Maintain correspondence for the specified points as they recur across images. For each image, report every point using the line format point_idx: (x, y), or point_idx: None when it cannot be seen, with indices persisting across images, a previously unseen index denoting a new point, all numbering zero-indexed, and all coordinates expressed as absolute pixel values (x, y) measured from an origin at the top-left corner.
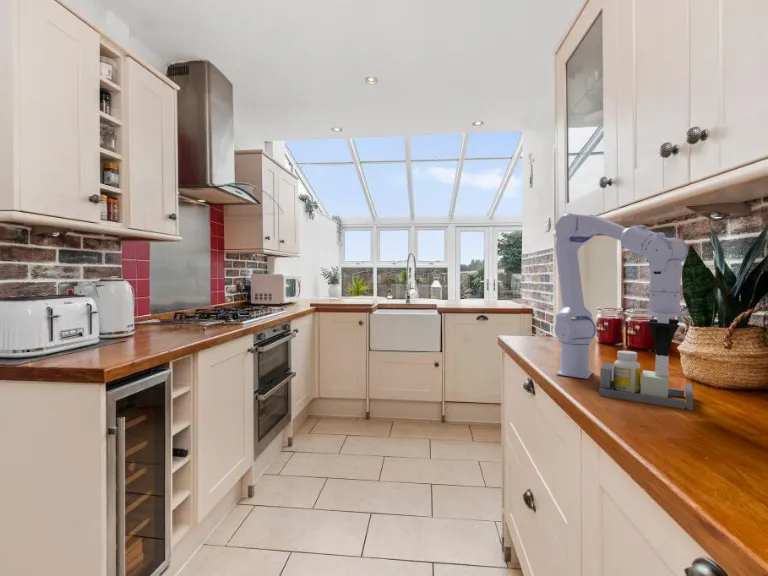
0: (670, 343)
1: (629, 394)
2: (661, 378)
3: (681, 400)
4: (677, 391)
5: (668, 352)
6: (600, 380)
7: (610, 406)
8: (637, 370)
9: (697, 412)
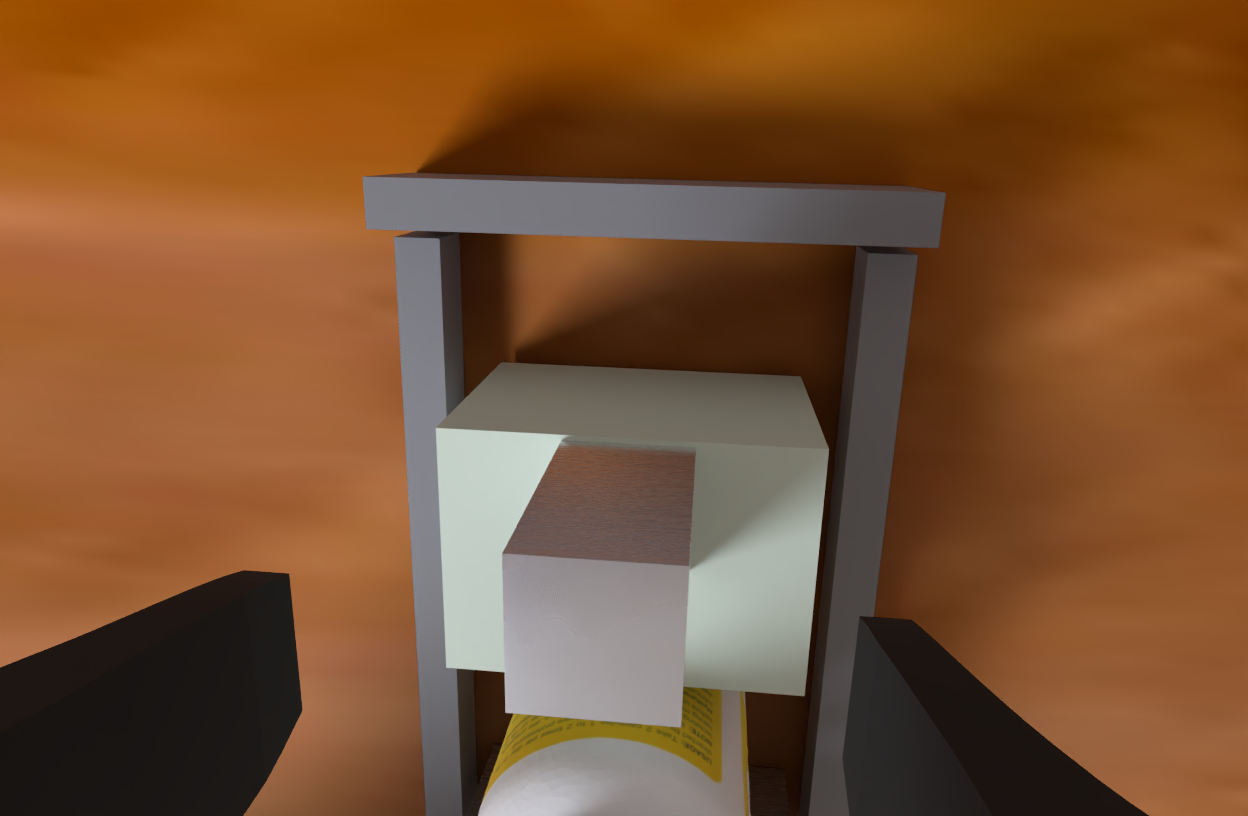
0: (1059, 757)
1: None
2: (815, 516)
3: (880, 284)
4: (447, 292)
5: (939, 649)
6: None
7: (1129, 761)
8: (697, 751)
9: (961, 151)
